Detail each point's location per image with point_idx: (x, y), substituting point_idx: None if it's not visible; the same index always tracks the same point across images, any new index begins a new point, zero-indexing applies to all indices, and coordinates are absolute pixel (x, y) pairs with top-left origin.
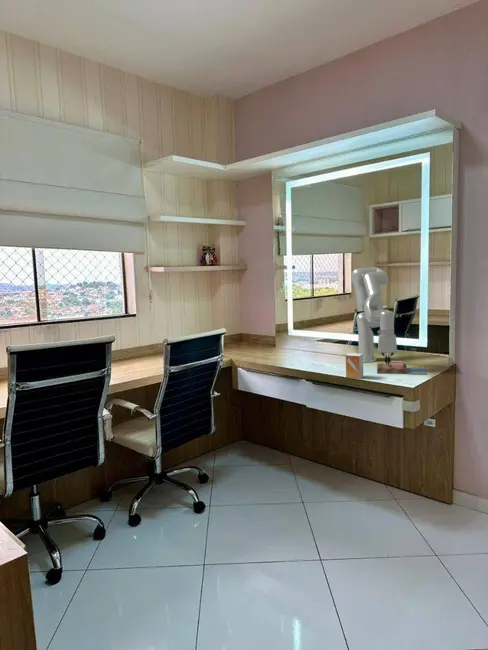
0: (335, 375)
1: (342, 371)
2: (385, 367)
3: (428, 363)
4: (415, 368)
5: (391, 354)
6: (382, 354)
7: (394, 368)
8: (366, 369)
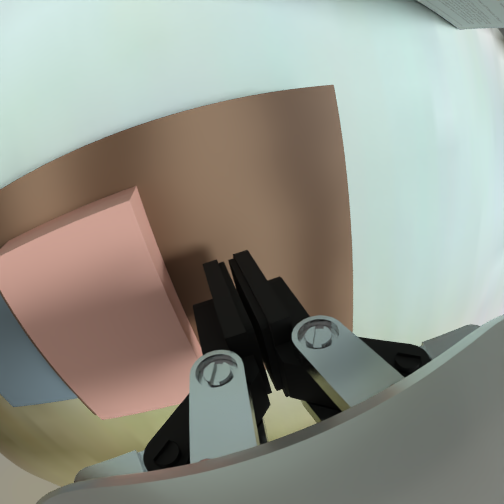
0: (497, 36)
1: (496, 133)
2: (234, 169)
3: (74, 472)
4: (34, 384)
5: (188, 434)
6: (399, 347)
7: (85, 152)
8: (403, 232)
